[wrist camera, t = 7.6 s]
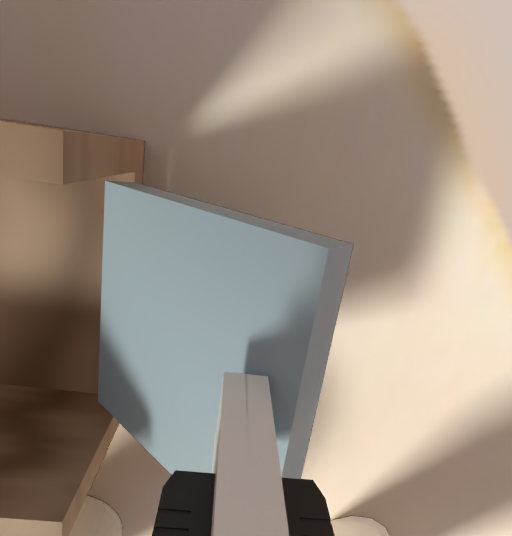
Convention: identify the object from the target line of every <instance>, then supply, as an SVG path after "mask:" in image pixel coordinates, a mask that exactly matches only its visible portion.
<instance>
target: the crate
mask: <svg viewBox="0 0 512 536" xmlns="http://www.w3.org/2000/svg"><path fill="white" fill-rule="evenodd" d="M144 146H145V141H142V140H136V139H129V138H123V137H116V136H110V135H103V134H97V133H90V132H84V131H77V130H71V129H64V128H57V127H51V126H44V125H38V124H31V123H25V122H18V121H12V120H5V119H0V536H69V534H70V532H71V530H72V527H73V525H74V523H75V521H76V519H77V516H78V514H79V512H80V510H81V507H82V505H83V503H84V501H85V499H86V496H87V494H88V492H89V490H90V487H91V485H92V483H93V481H94V479H95V476H96V474H97V472H98V470H99V467H100V465H101V463H102V461H103V459H104V456H105V454H106V452H107V450H108V447H109V445H110V443H111V441H112V439H113V436H114V434H115V432H116V430H117V427H118V425H119V422H118V421H117V420H116V419H115V418H114V417H113V416H112V415H111V414H110V413H109V412H108V411H107V410H106V409H105V408H104V407H103V406H102V405H101V404H100V403H99V402H98V379H99V349H100V319H101V289H102V259H103V229H104V199H105V181H121V182H135V183H139V184H142V179H143V163H144Z"/></svg>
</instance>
